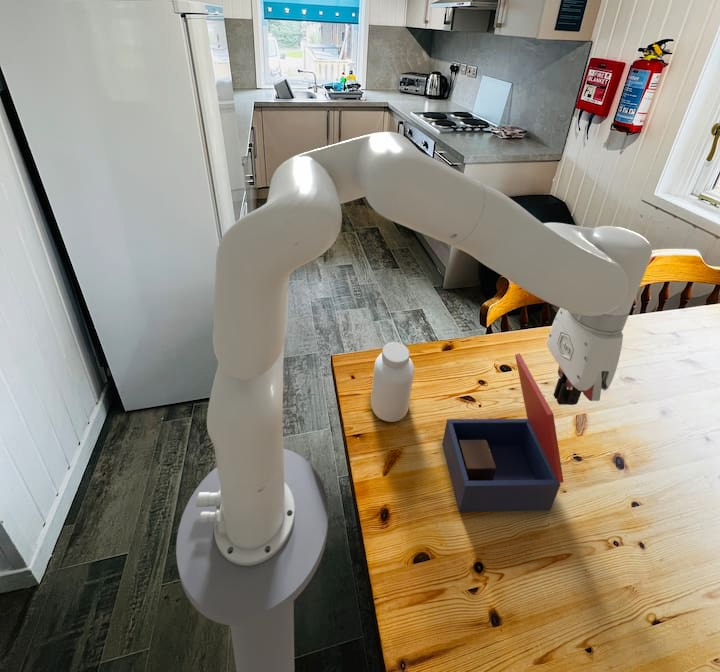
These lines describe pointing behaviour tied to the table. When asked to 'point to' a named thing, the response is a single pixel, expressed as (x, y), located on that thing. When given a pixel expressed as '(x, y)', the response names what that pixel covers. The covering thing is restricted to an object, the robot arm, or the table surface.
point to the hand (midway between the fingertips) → (564, 400)
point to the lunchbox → (501, 467)
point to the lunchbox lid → (540, 417)
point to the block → (477, 460)
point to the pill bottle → (392, 382)
